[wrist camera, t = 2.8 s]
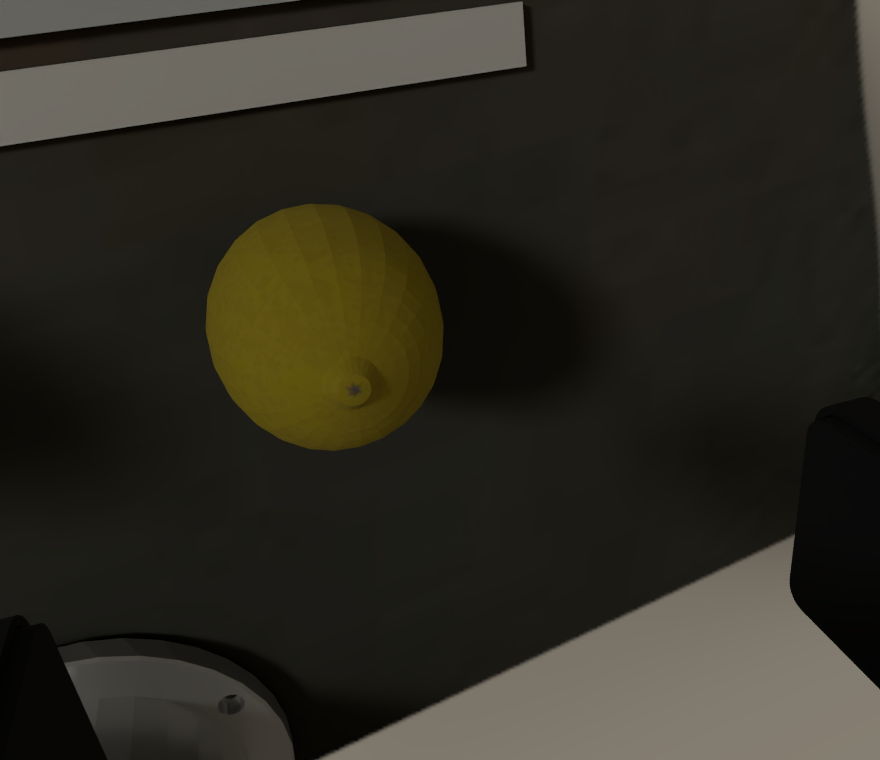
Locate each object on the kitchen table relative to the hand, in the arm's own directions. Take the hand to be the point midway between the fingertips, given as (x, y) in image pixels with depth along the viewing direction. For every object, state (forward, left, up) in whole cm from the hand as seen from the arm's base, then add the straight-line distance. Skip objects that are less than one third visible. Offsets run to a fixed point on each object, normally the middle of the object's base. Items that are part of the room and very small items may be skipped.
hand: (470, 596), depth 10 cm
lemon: (0, 0, -15) cm, 15 cm away
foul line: (+5, +2, -15) cm, 16 cm away
